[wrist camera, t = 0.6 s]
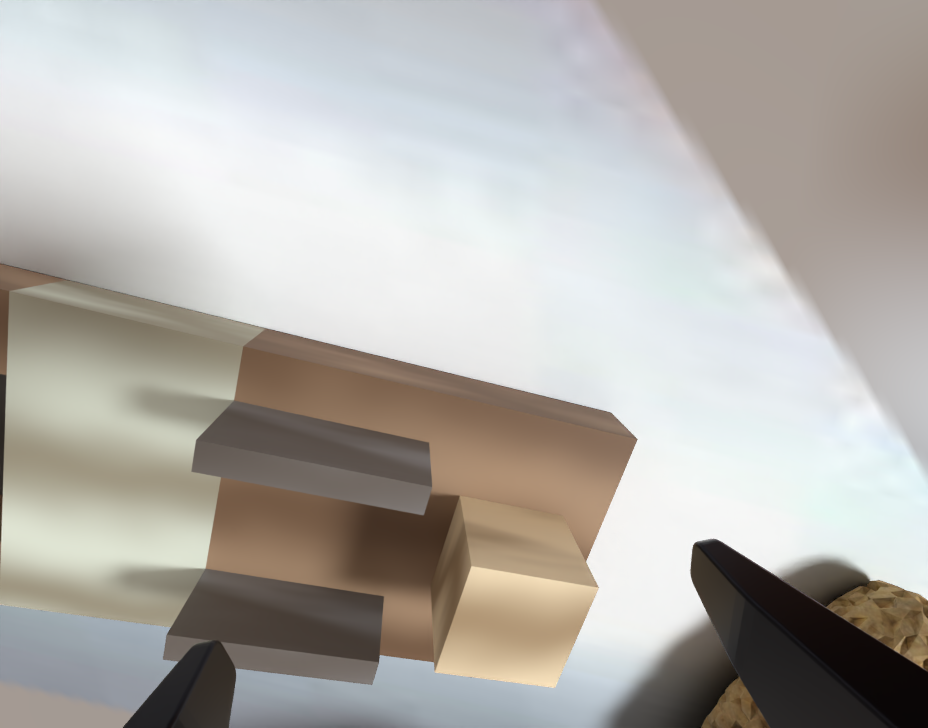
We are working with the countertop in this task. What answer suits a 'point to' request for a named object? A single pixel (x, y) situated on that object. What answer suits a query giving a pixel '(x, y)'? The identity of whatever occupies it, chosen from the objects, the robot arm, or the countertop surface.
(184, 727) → the robot arm
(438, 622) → the maple block
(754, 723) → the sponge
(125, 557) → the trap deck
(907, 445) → the countertop surface
